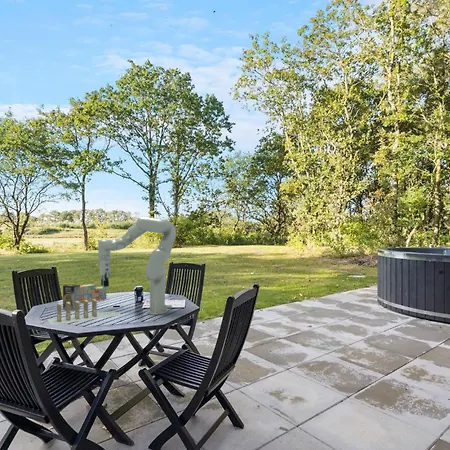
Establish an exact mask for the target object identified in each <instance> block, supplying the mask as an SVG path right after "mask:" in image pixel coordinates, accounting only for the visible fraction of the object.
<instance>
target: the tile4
mask: <svg viewBox="0 0 450 450" xmlns="http://www.w3.org/2000/svg"><path fill="white" fill-rule="evenodd" d="M80 310H81V304H80V302H79V301H75V310H74V316H75V318H76V319H80V315H81V314H80Z"/></svg>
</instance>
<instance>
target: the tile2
mask: <svg viewBox="0 0 450 450" xmlns="http://www.w3.org/2000/svg"><path fill="white" fill-rule="evenodd" d="M97 311H98V301H97V300H95V299H92V302H91V314H92V316H93V317H97V313H98V312H97Z"/></svg>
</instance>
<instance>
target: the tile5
mask: <svg viewBox="0 0 450 450" xmlns="http://www.w3.org/2000/svg"><path fill="white" fill-rule="evenodd" d="M71 311H72V310H71V303H70V302H66V310H65V317H66V319H67V320H68V321H69V320H71V316H72V315H71Z"/></svg>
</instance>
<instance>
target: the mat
mask: <svg viewBox="0 0 450 450" xmlns="http://www.w3.org/2000/svg"><path fill="white" fill-rule="evenodd" d="M117 316H118V317H119V316H121V313H119V312H117V311H116V310H112V311H110V310H109V311H103V312H102V311H101V312H97V317H93V316H92V313H88V318H85V317H84V314H80V319H76V318H75V315H71V320H69V321H68V320H67V319H66V316H65V317H61V322H58V321H57V317H56V318H49V319H47V322H48V324H49V325H50V326H53V325H60V324H68V323H75V322H81V321H88V320H89V321H90V320H97V319H102V318H109V317H117Z"/></svg>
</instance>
